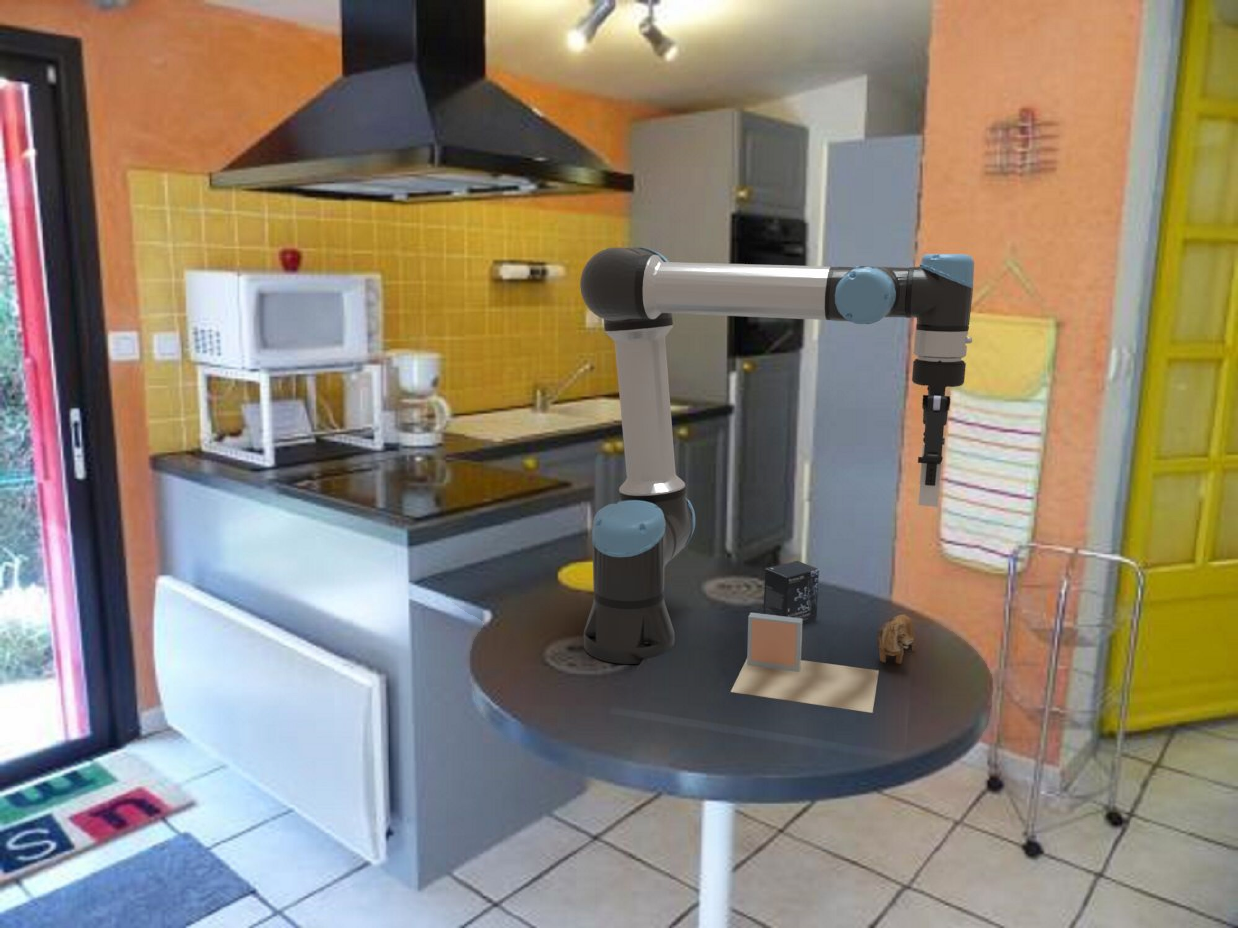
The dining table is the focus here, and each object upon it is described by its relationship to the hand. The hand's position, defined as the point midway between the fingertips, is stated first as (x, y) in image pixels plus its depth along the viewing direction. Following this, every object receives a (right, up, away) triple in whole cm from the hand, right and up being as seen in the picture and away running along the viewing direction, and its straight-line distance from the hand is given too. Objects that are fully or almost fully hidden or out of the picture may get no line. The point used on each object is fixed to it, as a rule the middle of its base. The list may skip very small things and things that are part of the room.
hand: (928, 494), depth 142 cm
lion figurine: (-4, -27, +2) cm, 27 cm away
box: (-18, -24, +17) cm, 35 cm away
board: (-20, -29, -6) cm, 36 cm away
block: (-24, -26, -1) cm, 36 cm away
